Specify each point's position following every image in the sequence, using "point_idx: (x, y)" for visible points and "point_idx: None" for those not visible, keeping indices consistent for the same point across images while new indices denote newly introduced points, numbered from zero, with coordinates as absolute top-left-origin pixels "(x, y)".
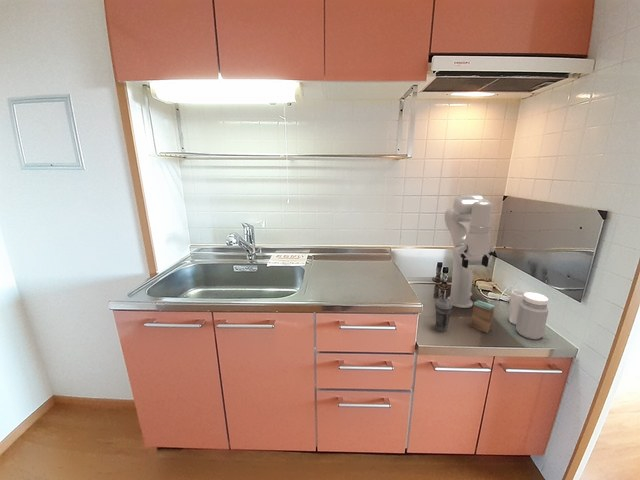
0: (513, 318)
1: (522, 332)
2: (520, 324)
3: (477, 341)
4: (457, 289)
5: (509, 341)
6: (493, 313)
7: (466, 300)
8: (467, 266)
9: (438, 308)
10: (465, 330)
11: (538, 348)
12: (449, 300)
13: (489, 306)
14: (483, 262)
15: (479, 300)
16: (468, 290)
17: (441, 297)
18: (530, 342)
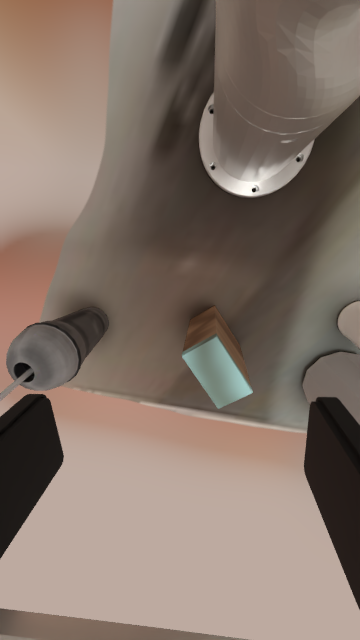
0: (346, 334)
1: (306, 394)
2: (313, 399)
3: (164, 386)
4: (224, 139)
5: (248, 399)
6: (247, 374)
7: (263, 176)
8: (46, 482)
9: (24, 366)
10: (160, 338)
11: (297, 432)
12: (47, 381)
13: (225, 395)
14: (325, 461)
15: (219, 342)
16: (282, 159)
17: (13, 363)
18: (300, 410)
